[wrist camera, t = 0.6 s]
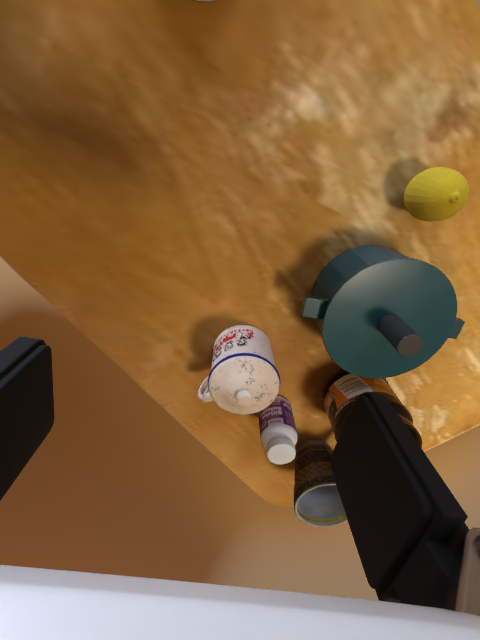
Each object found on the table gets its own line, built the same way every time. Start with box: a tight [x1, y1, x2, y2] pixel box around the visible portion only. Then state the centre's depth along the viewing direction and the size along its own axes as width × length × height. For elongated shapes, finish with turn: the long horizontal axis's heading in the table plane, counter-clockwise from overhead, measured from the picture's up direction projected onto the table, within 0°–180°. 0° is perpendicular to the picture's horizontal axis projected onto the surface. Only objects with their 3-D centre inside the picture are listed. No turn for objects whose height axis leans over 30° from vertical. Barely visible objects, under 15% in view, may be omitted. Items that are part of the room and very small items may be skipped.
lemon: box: [404, 167, 469, 221], centre depth 35 cm, size 6×6×8 cm
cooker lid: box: [321, 258, 457, 378], centre depth 35 cm, size 15×15×6 cm
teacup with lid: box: [198, 325, 280, 414], centre depth 43 cm, size 12×9×12 cm
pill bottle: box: [258, 396, 297, 464], centre depth 49 cm, size 5×5×10 cm
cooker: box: [300, 245, 465, 339], centre depth 41 cm, size 14×20×8 cm
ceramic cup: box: [294, 440, 347, 527], centre depth 53 cm, size 13×10×10 cm
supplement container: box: [323, 371, 422, 448], centre depth 46 cm, size 10×10×12 cm
